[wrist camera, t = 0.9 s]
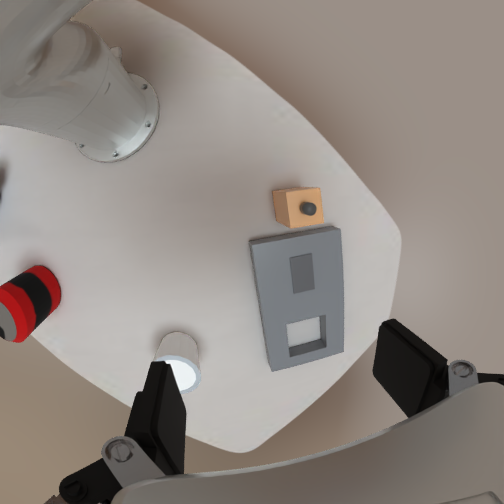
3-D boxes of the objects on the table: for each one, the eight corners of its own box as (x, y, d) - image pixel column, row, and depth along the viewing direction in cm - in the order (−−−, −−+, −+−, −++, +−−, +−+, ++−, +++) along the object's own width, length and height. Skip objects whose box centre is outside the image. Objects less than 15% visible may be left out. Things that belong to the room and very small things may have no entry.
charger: (272, 191, 35) (289, 192, 27) (301, 187, 35) (325, 188, 27) (276, 220, 36) (294, 230, 28) (304, 216, 36) (329, 224, 28)
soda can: (23, 294, 32) (-17, 325, 20) (32, 255, 31) (-15, 280, 19) (56, 318, 34) (20, 358, 22) (66, 281, 33) (24, 315, 21)
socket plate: (249, 241, 36) (252, 245, 33) (332, 226, 37) (341, 229, 34) (268, 362, 41) (272, 372, 38) (337, 343, 42) (344, 352, 40)
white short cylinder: (159, 323, 37) (151, 350, 30) (205, 333, 38) (205, 361, 31) (154, 359, 38) (147, 388, 31) (197, 368, 39) (196, 398, 33)
